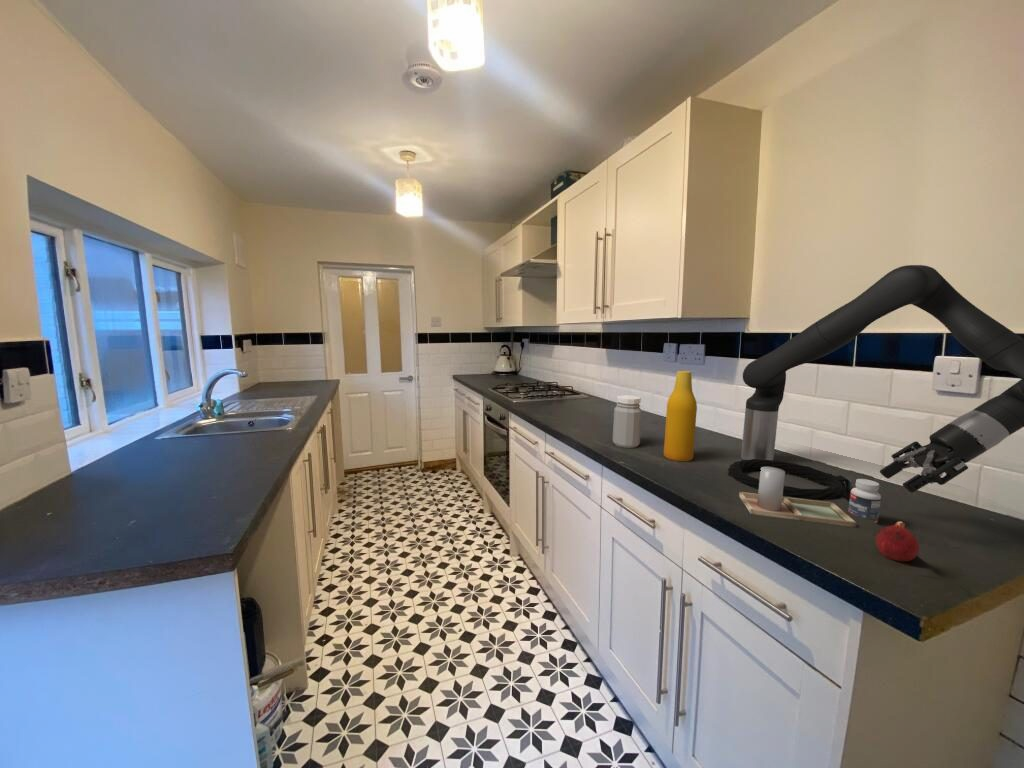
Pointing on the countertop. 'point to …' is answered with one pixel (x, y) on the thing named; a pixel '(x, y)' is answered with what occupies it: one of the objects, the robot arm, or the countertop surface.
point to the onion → (897, 543)
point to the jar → (627, 421)
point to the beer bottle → (681, 420)
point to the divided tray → (801, 510)
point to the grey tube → (771, 488)
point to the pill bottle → (865, 499)
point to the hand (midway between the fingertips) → (894, 481)
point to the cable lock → (835, 483)
